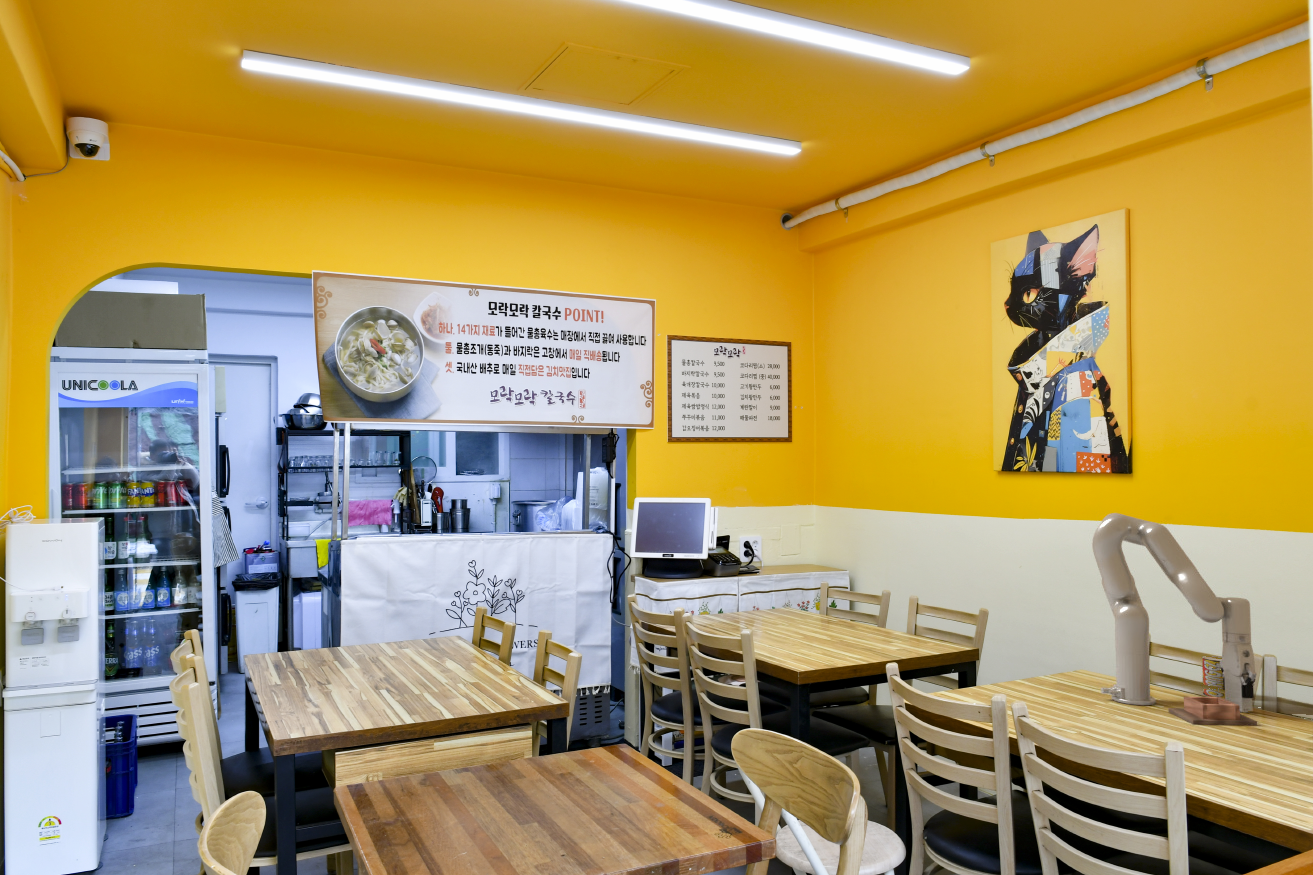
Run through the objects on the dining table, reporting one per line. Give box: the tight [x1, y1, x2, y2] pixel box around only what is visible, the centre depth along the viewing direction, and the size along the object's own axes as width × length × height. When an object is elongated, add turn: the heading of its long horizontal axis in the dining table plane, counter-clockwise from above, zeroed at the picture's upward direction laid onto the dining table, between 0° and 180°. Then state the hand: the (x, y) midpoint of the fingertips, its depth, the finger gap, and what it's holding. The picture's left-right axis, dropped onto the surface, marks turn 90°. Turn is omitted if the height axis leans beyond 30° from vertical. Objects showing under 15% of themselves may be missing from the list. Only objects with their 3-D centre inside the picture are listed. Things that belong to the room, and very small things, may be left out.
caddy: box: [1167, 696, 1258, 726], centre depth 269 cm, size 18×14×5 cm
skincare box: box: [1224, 669, 1253, 713], centre depth 279 cm, size 6×4×12 cm
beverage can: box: [1201, 655, 1225, 699], centre depth 299 cm, size 9×9×12 cm
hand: (1238, 694), depth 279 cm, fingers open, 9 cm apart
